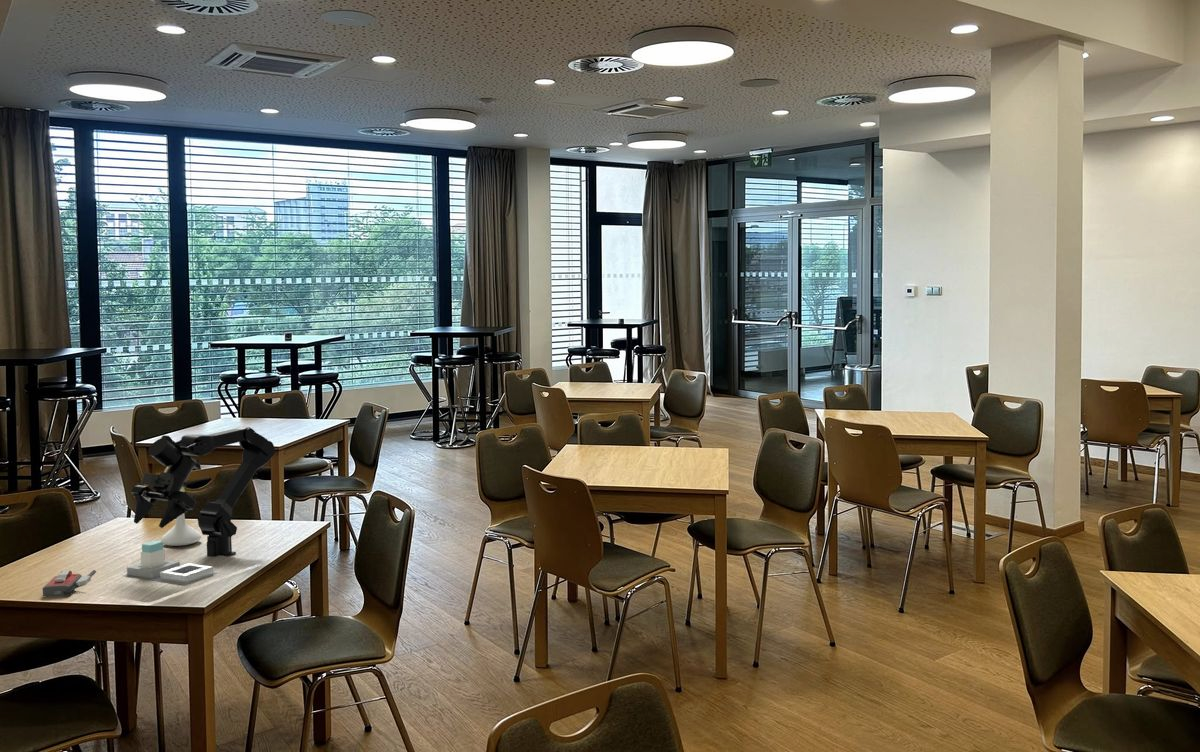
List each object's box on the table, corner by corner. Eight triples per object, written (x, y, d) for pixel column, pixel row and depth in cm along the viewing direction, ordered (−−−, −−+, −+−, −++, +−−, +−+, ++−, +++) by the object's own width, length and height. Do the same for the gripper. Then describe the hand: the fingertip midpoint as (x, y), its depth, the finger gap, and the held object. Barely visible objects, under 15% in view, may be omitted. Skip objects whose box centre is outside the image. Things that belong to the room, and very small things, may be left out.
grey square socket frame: (127, 574, 264) (126, 567, 264) (155, 565, 273) (155, 558, 272) (151, 578, 260) (151, 571, 260) (179, 569, 269) (179, 562, 269)
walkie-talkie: (78, 597, 248) (98, 575, 267) (77, 580, 248) (98, 560, 267) (39, 600, 246) (63, 578, 265) (39, 583, 245) (62, 562, 265)
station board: (122, 578, 263) (121, 575, 263) (158, 567, 274) (157, 564, 274) (183, 588, 254) (183, 585, 254) (218, 575, 265) (218, 572, 265)
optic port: (160, 579, 259) (159, 572, 259) (188, 570, 268) (187, 563, 268) (185, 583, 256) (185, 575, 256) (213, 573, 264) (213, 566, 264)
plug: (141, 573, 265) (140, 544, 264) (156, 568, 269) (155, 540, 269) (151, 575, 264) (149, 545, 263) (165, 570, 268) (164, 541, 267)
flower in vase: (183, 537, 307) (180, 459, 305) (209, 541, 302) (207, 461, 300) (148, 547, 295) (144, 465, 293) (175, 551, 290) (172, 468, 288)
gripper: (133, 456, 269) (102, 506, 261) (184, 463, 261) (154, 515, 253) (159, 476, 277) (130, 525, 269) (208, 484, 270) (180, 534, 262)
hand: (147, 525), depth 263 cm, fingers open, 9 cm apart
